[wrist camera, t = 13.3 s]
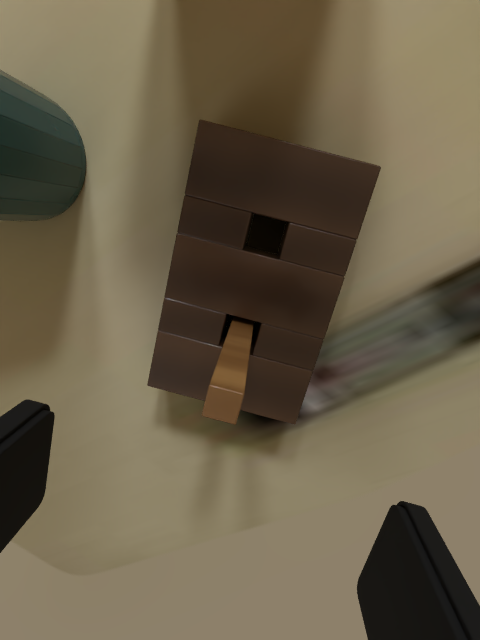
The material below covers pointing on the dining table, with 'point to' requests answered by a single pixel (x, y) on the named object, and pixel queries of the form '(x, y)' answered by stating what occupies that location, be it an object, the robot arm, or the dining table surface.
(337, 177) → the stirrer stand
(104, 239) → the dining table surface
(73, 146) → the mug
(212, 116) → the dining table surface
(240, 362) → the stirrer
